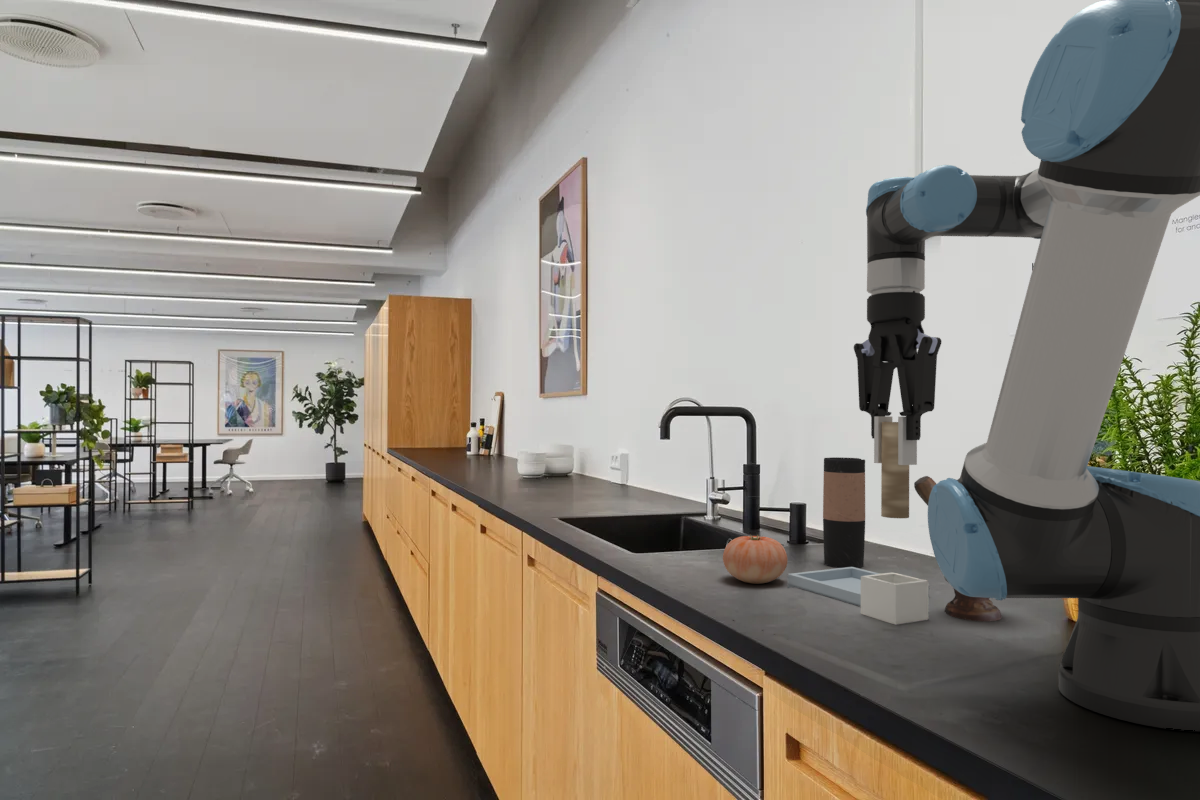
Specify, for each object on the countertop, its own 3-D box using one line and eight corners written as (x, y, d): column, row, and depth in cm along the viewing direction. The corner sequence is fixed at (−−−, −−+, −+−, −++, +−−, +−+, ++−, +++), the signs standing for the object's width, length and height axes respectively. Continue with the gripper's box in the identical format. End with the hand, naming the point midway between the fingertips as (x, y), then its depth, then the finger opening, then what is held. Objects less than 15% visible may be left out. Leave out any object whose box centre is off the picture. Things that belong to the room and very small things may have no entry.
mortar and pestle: (945, 631, 106) (945, 480, 106) (905, 614, 114) (906, 474, 114) (1019, 626, 108) (1020, 479, 109) (975, 610, 117) (976, 473, 117)
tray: (929, 602, 121) (929, 585, 122) (861, 612, 115) (861, 594, 115) (851, 581, 136) (851, 566, 136) (787, 589, 129) (787, 573, 129)
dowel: (915, 517, 109) (915, 422, 109) (896, 518, 107) (896, 422, 108) (894, 514, 112) (894, 422, 112) (875, 515, 110) (875, 421, 111)
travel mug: (814, 564, 151) (815, 458, 151) (836, 559, 156) (836, 456, 156) (851, 570, 145) (852, 460, 145) (872, 565, 150) (873, 458, 151)
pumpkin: (711, 583, 134) (712, 535, 134) (738, 572, 143) (738, 527, 143) (773, 591, 128) (773, 541, 128) (796, 580, 137) (797, 533, 137)
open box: (928, 625, 108) (928, 580, 108) (895, 630, 106) (895, 585, 106) (892, 614, 114) (892, 572, 114) (860, 619, 111) (860, 576, 111)
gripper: (966, 288, 105) (965, 467, 104) (869, 303, 119) (869, 459, 119) (925, 283, 101) (925, 468, 101) (831, 299, 116) (831, 460, 116)
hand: (895, 463), depth 110 cm, fingers closed on dowel, 3 cm apart
